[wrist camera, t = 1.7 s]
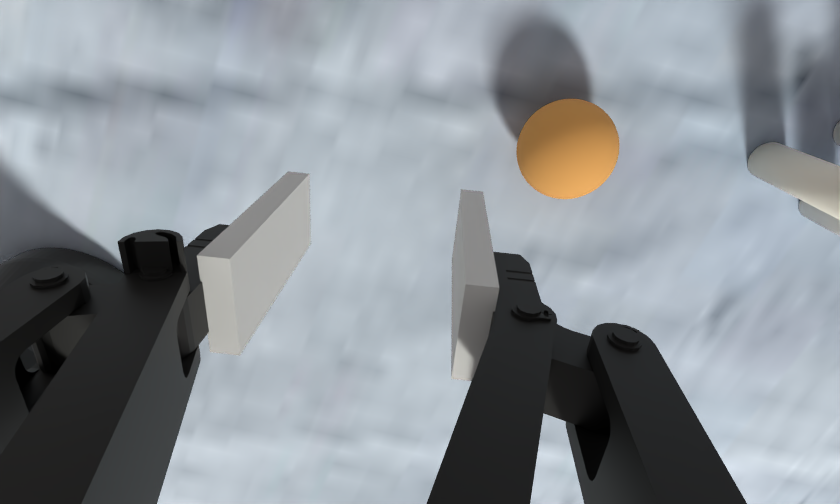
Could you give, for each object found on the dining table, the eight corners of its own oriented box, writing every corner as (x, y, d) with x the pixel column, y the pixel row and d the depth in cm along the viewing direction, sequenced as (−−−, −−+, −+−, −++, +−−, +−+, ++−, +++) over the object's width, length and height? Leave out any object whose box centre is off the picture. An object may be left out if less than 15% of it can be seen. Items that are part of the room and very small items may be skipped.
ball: (504, 177, 33) (514, 207, 28) (520, 87, 30) (534, 102, 25) (590, 186, 33) (617, 218, 28) (613, 97, 30) (648, 113, 25)
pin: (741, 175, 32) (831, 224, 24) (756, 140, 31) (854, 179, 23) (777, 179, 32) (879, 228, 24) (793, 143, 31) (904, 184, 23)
